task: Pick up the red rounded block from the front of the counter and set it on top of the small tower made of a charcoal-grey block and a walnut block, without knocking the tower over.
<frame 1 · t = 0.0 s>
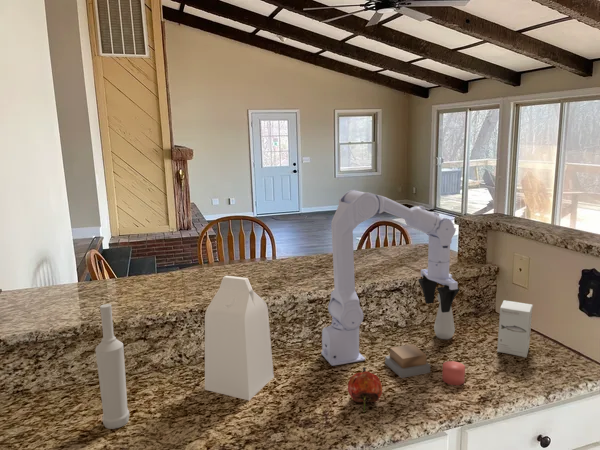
hand: (437, 307, 128), 10 cm above the worktop, tool pointing down, fingers open, 7 cm apart
tower top block: (407, 360, 114), point 2 cm above the worktop, touching tower base block
tower base block: (407, 370, 115), on the worktop, touching tower top block
salt shaker: (444, 337, 133), on the worktop
bottle: (116, 422, 94), on the worktop
supplement box: (513, 350, 123), on the worktop
red rounded block: (453, 380, 108), on the worktop
milk: (240, 383, 109), on the worktop
red apple: (365, 404, 99), on the worktop
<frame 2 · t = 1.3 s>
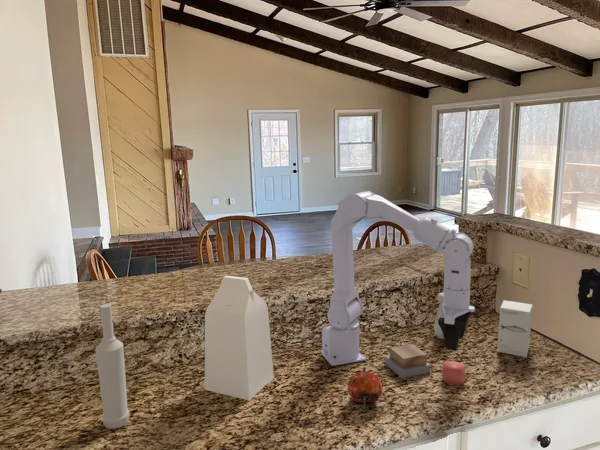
hand: (454, 343, 107), 9 cm above the worktop, tool pointing down, fingers open, 7 cm apart
nothing on the worktop moved.
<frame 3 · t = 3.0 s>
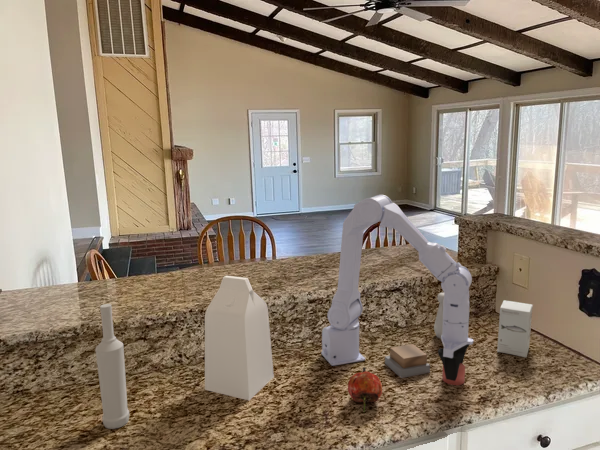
hand: (453, 374, 108), 1 cm above the worktop, tool pointing down, fingers closed on red rounded block, 5 cm apart
red rounded block: (453, 379, 108), on the worktop, touching gripper
everything else where it was.
when the fingers open (7 cm above the worktop, at t = 6.8 s): red rounded block drops 1 cm, resting on tower top block.
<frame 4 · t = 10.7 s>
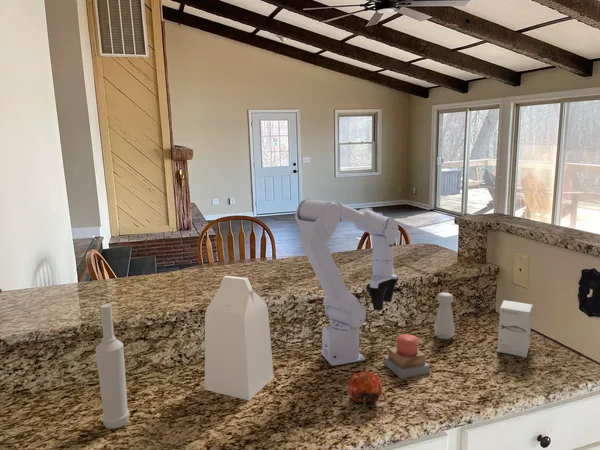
hand: (382, 305, 130), 10 cm above the worktop, tool pointing down, fingers open, 7 cm apart
tower top block: (406, 360, 114), point 2 cm above the worktop, touching red rounded block, tower base block
red rounded block: (407, 352, 113), point 4 cm above the worktop, touching tower top block
everything else where it was.
at the end: red rounded block 0.3 cm off-centre on the tower top block, point 2.5 cm above the tower top block's base; tower top block 0.2 cm off-centre on the tower base block, point 2.5 cm above the tower base block's base; tower base block moved 0.7 cm from its start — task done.
